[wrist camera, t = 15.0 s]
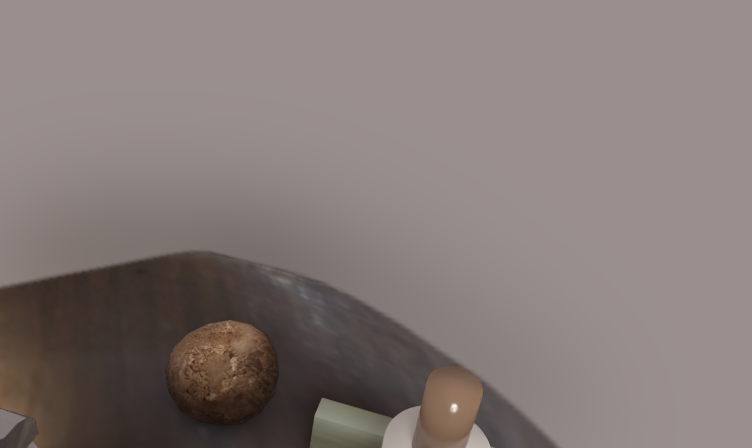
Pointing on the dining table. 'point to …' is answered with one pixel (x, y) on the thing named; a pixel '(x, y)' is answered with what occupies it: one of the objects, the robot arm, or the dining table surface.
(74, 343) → the dining table surface
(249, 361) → the mushroom
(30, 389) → the dining table surface
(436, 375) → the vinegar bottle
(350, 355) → the dining table surface
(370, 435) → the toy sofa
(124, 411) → the dining table surface
